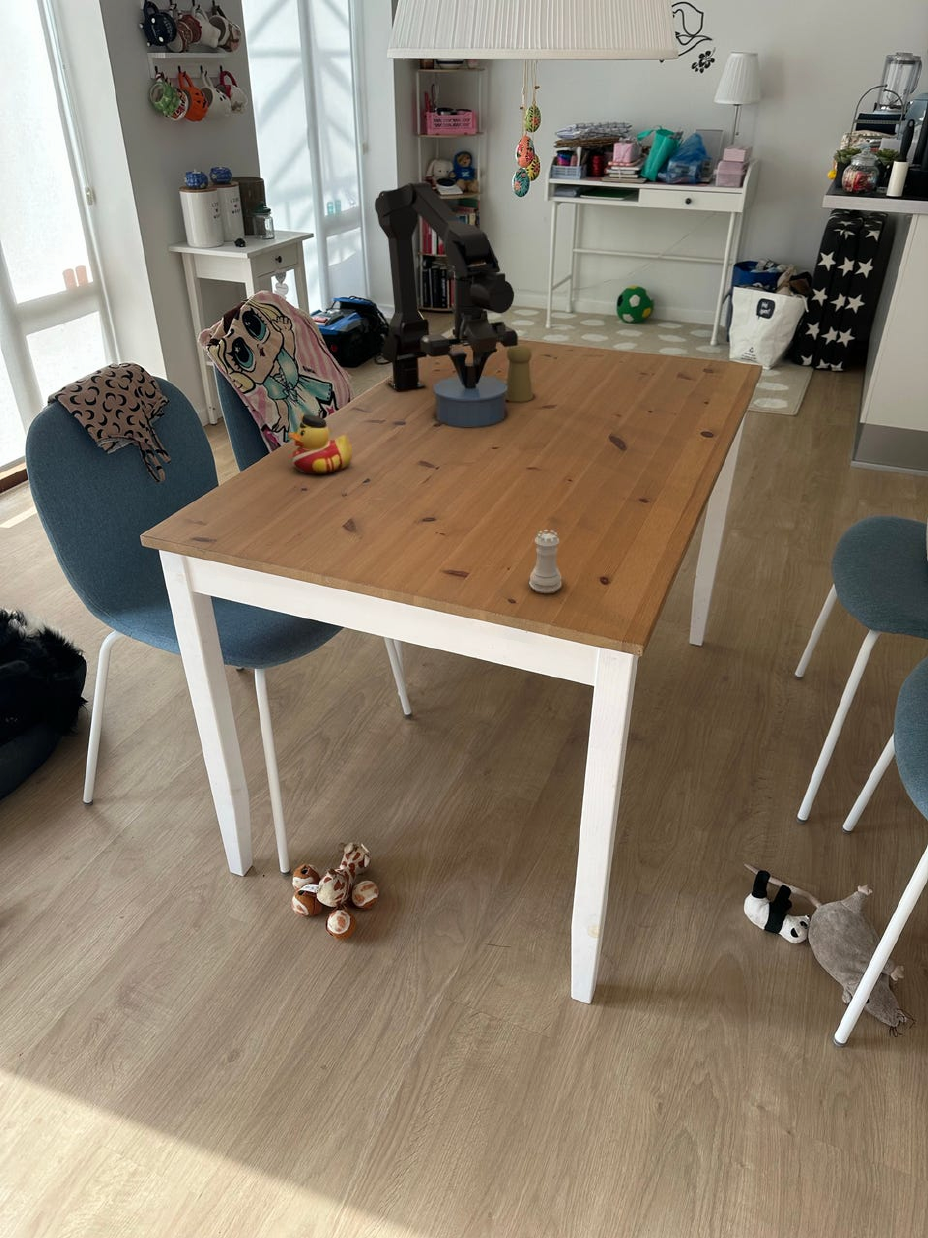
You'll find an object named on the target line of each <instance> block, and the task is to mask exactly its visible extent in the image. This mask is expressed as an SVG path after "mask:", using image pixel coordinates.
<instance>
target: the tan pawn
mask: <svg viewBox="0 0 928 1238" xmlns="http://www.w3.org/2000/svg"><path fill="white" fill-rule="evenodd" d="M506 351H507V352H506V357H507V360H508V361H509V363H508V369H507V378H506V384H507V392H506V393H505V400H507V401H509V402H516V403H518V402H519V403H522V402H528V401H531V400H532V399H533V397H534V396H533V387H532V385H533V384H532V377H531V368H530V361H531V359H532V356H533V351H532V348H531V347H530V346H529V345H528V344H524V343H523V344H521V343H518V345H517V346H510V347H508V348H507V350H506Z"/></svg>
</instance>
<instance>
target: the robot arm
mask: <svg viewBox="0 0 928 1238" xmlns="http://www.w3.org/2000/svg"><path fill="white" fill-rule="evenodd" d="M374 209H375V213H376V216H377V222H378V225H379V226H378V227H380V229H381V230H382V232H383V233H384V234H385V236H386V238H387V242H388V252H389V253H388V254H389V262H390V263H389V264H390V274H391V275H390V276H391V284H392V285H391V286H392V294H393V295H392V296H393V304H394V312H393V315H392V317H391V319H390V322H389V324H388V337H387V339H386V341H385V343H384V344H383V346H382V348H381V353H382V359H383V360H384V361H387V362H388V363H389V362H390V363H392V380H389V381H388V382H387V383H388V385H390V387H392V388H393V389H394V390H395V391H397V392H401V391H408V390H416V389H424V388H425V384H424V383H423V382H421V381H420V371H419V369H420V368H419V359H421V358H427V356H429V357H432V358H436V357H444V356H448V357H449V358H450V360H451V362H452V364H453V366H454V369H455V371H456V373H457V377H459V378H460V381H461V383H462V385H464V386H465V385H466V368H465V363H466V359H467V356H468V354H467V353H466V352H464V347H470V349H471V351H472V363H475V364H476V384H478V383H479V380H480V377H481V376H482V374H483V371H484V369H485V366H486V363H487V361H488V359H489V358H490V357H491V355H493V354H494V353H497V352H498V349H497V343H500V345H502V346H503V347H504V348H509V347H510V346H517V345H518V344H519V334H518V332H517V331H516V330H515V329H513V328H511V327H509V326H507V325H506V323H505V322H504V321H495V322H490V321H489V317H488V316H489V315H488V311H489V312H493V313H496V314H503V313H506V312H507V311H509V310H510V308H511V307H512V305H513V302H514V300H515V291H514V289H513V286H512V284H511V283H510V282H509V281H507V280H506V274H505V272H501V268H500V266H499V261H498V258H497V257H496V255H495V252H494V250H493V247H492V245H491V242H490V239H489V237H488V236H487V234H486V233H485V232H484V231H482V230H481V229H480V228H478V227H477V226H475V225H474V224H470V223H467V222H464V221H463V220H462V219H461V218H460V217H458V215H457V214H456V213H455V212H454V211H453V210H452V209H451V208H450V207H449V206H448V204H446V202H444V200H443V199H442V198H441V197H440V196H439V195H438V194H437V193H436V192H435V190H434V188H433V186H432V184H431V183H430V182H427V181H415V182H408V183H406V184H404V185H402V186H401V187H398V188H395V189H388V190H381V191H380V192H379V193H378V196H377V197H376V198H375V202H374ZM419 216H420V218H422V219H423V220H424V222H425V223H426V224H427V225H428V227H430V228H431V229H432V231H433V232H434V234H436V236H438V238H439V239H440V240H441V241H442V249H443V253H444V255H445V256H446V259H448V261H449V263H450V264H451V265H452V267H451V268H450V269H449V270H448V271H447V275H448V276H449V277H452V278H453V298H454V299H453V301H454V303H453V304H454V306H452V307H451V313H452V314H454V328H452V329H451V330H452V335H453V337H448V338H447V337H446V336H444V335H443V334H441V333H434V334H430V328H429V327H430V326H429V325H430V322H429V320H428V319H427V318H424V317H423V315H422V314H421V312H420V311H419V304H418V293H417V292H418V291H417V280H416V267H415V257H414V256H415V255H414V245H413V243H414V242H413V236H414V234H415V231H416V228H417V226H418V224H419Z"/></svg>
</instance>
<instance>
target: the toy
mask: <svg viewBox="0 0 928 1238" xmlns="http://www.w3.org/2000/svg"><path fill="white" fill-rule="evenodd" d="M300 420H301V422H300V423H299V426H298V429H297V430H296V431H297V432H288V437H289V438H290V439H291V440H293V441H294V446H295V447H296V448H295V449H294V450H293V452H292V455H291V462H292V465H293V467H294V468H295V469H296V470H298V471H299V472H301V473H304V474H310V475H311V474H312V475H320V474H321V475H322V474H323V475H324V474H330V473H333V472H336V471H340V470H342V469H344V468H346V467H347V466H348V465H349V464H350V462H351V461H352V458H353V448H352V446H351V444H350V441H349V439H348V436H347V435H346V434H342V435H340V436H339V437H337V438H336V439H329V438H330V433H329V428H328V425H327V421H326V420H325V419H324V418H323V417H322V416H318V415H315V414H312V413H311V414H310V413H304V414H301V415H300Z"/></svg>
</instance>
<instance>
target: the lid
mask: <svg viewBox="0 0 928 1238" xmlns="http://www.w3.org/2000/svg"><path fill="white" fill-rule="evenodd" d="M465 368H466V385H465V386H464V385H462V383H461V381H460V378H459V376H453V377H448V378H444V379H441V380H439V381H437V382H435V383H434V384H433V386H432V393H434V395H435V394H436V395H437V396H440V397H442V398H445V399H450V400H456V401H482V400H489V399H493V398H497V397H499V396H502V395H503V394H505V393H506V392H507V382H505V381H503V380H501V379H499V378H495V377H490V376H484V375H481V377H480V380H479V383H478V384H476V364H475V363H473V362H465Z"/></svg>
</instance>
